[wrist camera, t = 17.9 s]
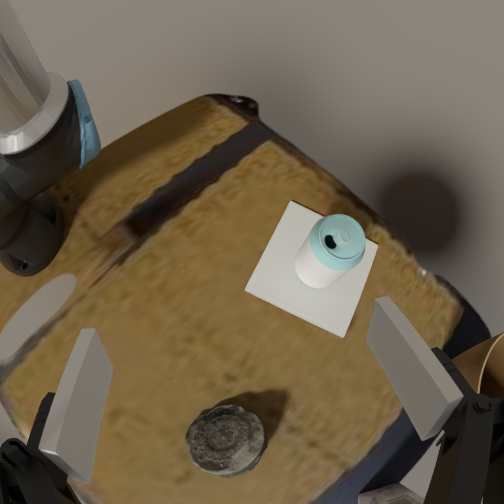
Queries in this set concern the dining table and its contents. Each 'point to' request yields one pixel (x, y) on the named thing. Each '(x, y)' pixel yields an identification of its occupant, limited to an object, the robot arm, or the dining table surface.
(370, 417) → the dining table surface
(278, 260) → the white mat
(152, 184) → the dining table surface
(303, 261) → the can
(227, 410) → the fossil
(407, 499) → the juice carton
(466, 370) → the plant pot
